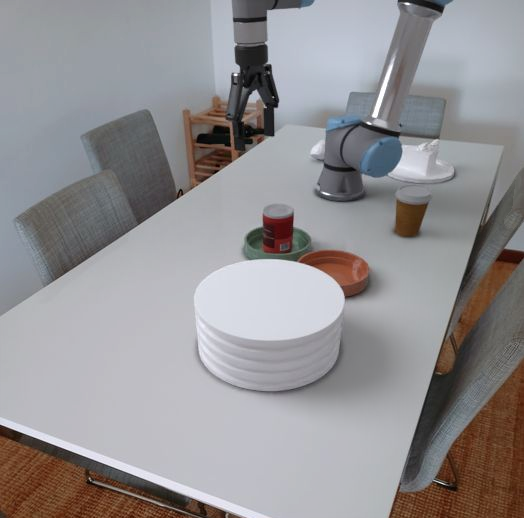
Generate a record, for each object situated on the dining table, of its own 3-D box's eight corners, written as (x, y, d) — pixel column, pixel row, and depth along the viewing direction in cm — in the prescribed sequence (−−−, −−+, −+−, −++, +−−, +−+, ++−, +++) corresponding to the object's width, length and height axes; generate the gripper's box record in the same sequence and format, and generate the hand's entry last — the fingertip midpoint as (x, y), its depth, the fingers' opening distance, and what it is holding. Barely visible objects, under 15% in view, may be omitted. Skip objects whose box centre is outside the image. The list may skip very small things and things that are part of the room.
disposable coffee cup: (424, 241, 138) (434, 198, 130) (388, 238, 139) (396, 195, 132) (423, 226, 145) (432, 185, 137) (389, 223, 146) (396, 182, 139)
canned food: (295, 245, 135) (297, 205, 128) (287, 259, 129) (288, 218, 122) (268, 241, 137) (268, 201, 130) (258, 254, 131) (258, 213, 124)
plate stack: (362, 374, 94) (371, 324, 87) (215, 404, 88) (211, 353, 81) (309, 297, 115) (312, 251, 108) (187, 316, 109) (182, 269, 102)
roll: (307, 163, 187) (308, 147, 183) (316, 153, 195) (317, 138, 192) (322, 165, 185) (324, 149, 181) (331, 155, 194) (332, 140, 190)
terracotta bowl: (324, 255, 131) (325, 243, 129) (381, 278, 122) (383, 265, 120) (280, 280, 121) (281, 267, 119) (339, 307, 112) (340, 294, 110)
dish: (461, 167, 184) (469, 134, 177) (440, 188, 168) (448, 153, 161) (396, 155, 195) (402, 123, 188) (371, 174, 178) (375, 140, 171)
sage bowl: (274, 230, 142) (274, 219, 140) (323, 250, 133) (324, 238, 131) (230, 251, 133) (230, 239, 130) (280, 274, 123) (280, 261, 121)
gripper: (265, 36, 123) (268, 128, 136) (203, 51, 107) (213, 154, 120) (292, 37, 120) (292, 131, 133) (233, 52, 103) (239, 159, 116)
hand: (255, 143), depth 126 cm, fingers open, 13 cm apart
